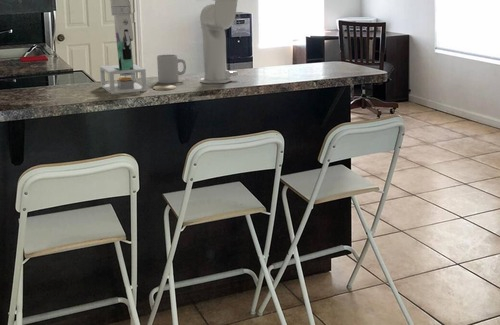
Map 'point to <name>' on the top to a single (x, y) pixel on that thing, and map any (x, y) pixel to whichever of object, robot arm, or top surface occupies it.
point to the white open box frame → (122, 85)
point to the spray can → (122, 63)
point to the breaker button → (125, 79)
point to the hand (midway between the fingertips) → (125, 58)
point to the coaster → (164, 87)
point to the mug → (169, 68)
